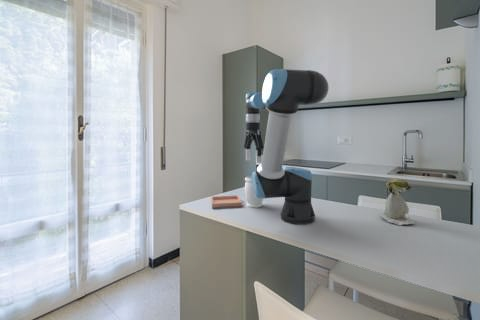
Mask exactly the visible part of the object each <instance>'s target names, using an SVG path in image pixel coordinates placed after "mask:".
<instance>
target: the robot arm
mask: <svg viewBox="0 0 480 320" xmlns="http://www.w3.org/2000/svg"><path fill="white" fill-rule="evenodd" d="M328 92H329V83H328V80H327V78H326V77H325V76H324V75H323V74H322V73H320V72H318V71H316V70H311V69H309V70H307V69H305V70H304V69H289V68H288V69H287V68H282V69H281V68H280V69H279V68H278V69H272V70H270V71H268V73H267V74H266V76H265V78H264V81H263V84H262V89H261V92H248V93H246V94H245V99H244V100H245V122H246V123H245V130H246V132H245V137H244V138H245V140H244V144H243V148H244V149H245V161H252V159H251V158H252V156H251V154H252V153H251V152H252V151H251V148H252V144H253V142H254V146H255V163H256V164H257V163H260V164H259V165H257V168H256V171H252V173H251V177H252V185H253V190H254V193H255V196H256V197H257V198H263V199H265V200H266V199H271V198H272V199H275V198H284V203H283V204H282V208H281V211H280V219H281V220H282V221H284V222H285V223H289V224H292V225H293V224H294V225H307V224H312V223H314V222H315V221H316V214H315V211H314V208H313V205H312V190H313V189H312V188H313V187H312V184H313V183H312V182H313V179H312V178H313V176H312V171H310V169H307V168H303V167H302V168H301V167H295V166H285V167H284V168H283V164H284V160H285V154H286V149H287V146H288V139H289V136H290V135H289V134H290V129H291V124H292V120H293V116H294V115H296V114H297V113H298V111H299V106H302V105H303V106H310V105H316V104H319V103H321V102H322V101H324V99H325V98H326V97H327V95H328ZM261 110H267V111H268V118H267V125H266V130H265V137H264V138H265V139H264V143H263V139H262V135H261V134H262V133H261V130H260V129H261V123H260V118H261V116H260V115H261V114H260V113H261V112H260V111H261ZM262 150H263V152H262Z"/></svg>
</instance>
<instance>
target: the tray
mask: <svg viewBox="0 0 480 320" xmlns="http://www.w3.org/2000/svg"><path fill="white" fill-rule="evenodd" d="M210 200H211V201H210V202H211V209H212V210H213V209H228V208H230V209H231V208H242V207H243V202H242V200H241V198H240V196H239V195H238V194H237V195H236V194H235V195H219V196H218V195H217V196H210Z"/></svg>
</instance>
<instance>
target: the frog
mask: <svg viewBox="0 0 480 320" xmlns="http://www.w3.org/2000/svg"><path fill="white" fill-rule="evenodd" d="M385 187H386V188H388V189H387V191H388V192H389V195H388V196H387V197H386V201H385V204H384V205H385V206H384V212H380V217H381V218H382V219H385V221H386V222H387V223H390V224H392V223H393V224H395V225H396V226H398V225H399V226H400V227H401V226H403V225H413V224H414V225H415V224H416V223H415V221H412V220H411V218H410V216H408V215H407V214H409V212H410V208H409V206H408V204H407V202H406V201H405V198H404V196H403V195H402V193H404V192H409V191H410V190H412V189H413V187H412V186H410V185H409V182H408V181H406V180H404V179H399V178H397V179H396V178H393V179H391V180H389V181H388V182H386V183H385Z"/></svg>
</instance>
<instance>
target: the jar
mask: <svg viewBox="0 0 480 320" xmlns="http://www.w3.org/2000/svg"><path fill="white" fill-rule="evenodd" d="M244 181H245V183H244V193H245V200H246V202H247V203H246V206H247V207H248V208H249V207H250V208H261V207H263V206H264V205H263V202H264V198H257V197H256V196H255V193H254V190H253V185H252V176H246V177H244Z"/></svg>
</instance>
